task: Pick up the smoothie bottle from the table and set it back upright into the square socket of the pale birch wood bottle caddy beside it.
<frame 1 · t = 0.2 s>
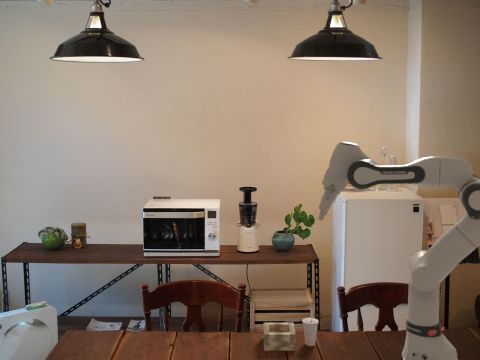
hand: (322, 217, 236), 51 cm above the table, tool tilted 20°, fingers open, 8 cm apart
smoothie: (310, 344, 246), on the table
caddy: (279, 344, 246), on the table
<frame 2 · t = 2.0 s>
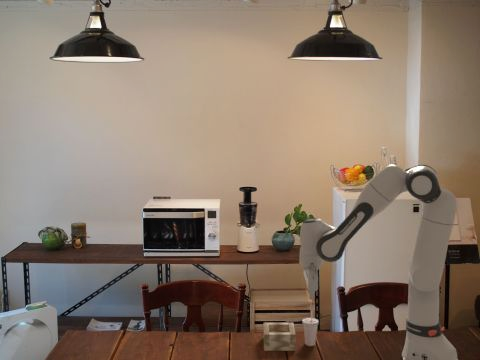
hand: (310, 294, 243), 20 cm above the table, tool pointing down, fingers open, 8 cm apart
nothing on the table moved.
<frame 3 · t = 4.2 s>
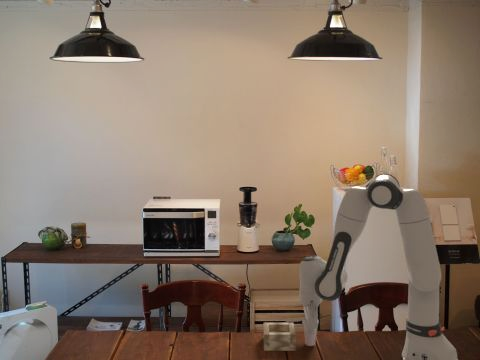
hand: (310, 330, 245), 5 cm above the table, tool pointing down, fingers closed on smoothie, 5 cm apart
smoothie: (310, 344, 246), on the table, touching gripper
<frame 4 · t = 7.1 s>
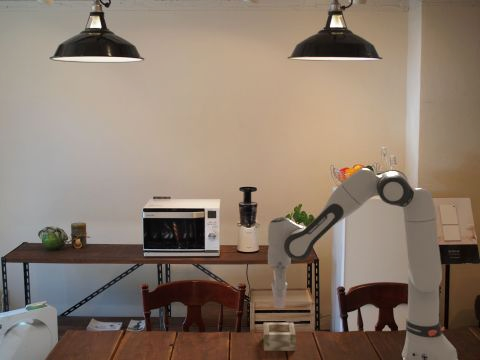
hand: (279, 293, 243), 21 cm above the table, tool pointing down, fingers closed on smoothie, 5 cm apart
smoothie: (279, 307, 244), point 15 cm above the table, touching gripper
when the fingers open (8 cm above the table, at t = 10.1 s): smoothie moves 2 cm, resting on caddy.
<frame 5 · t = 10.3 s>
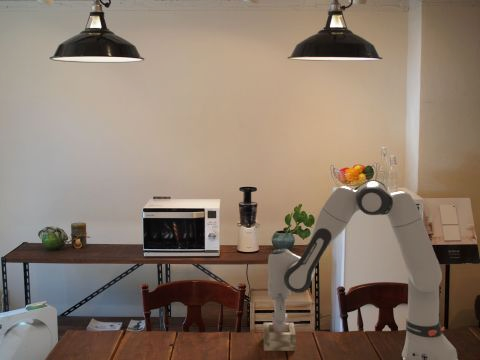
hand: (279, 324, 245), 8 cm above the table, tool pointing down, fingers open, 7 cm apart
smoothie: (279, 337, 247), point 2 cm above the table, touching caddy, gripper
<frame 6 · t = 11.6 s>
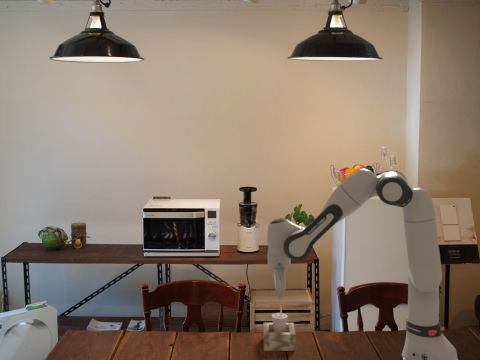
hand: (279, 294, 243), 20 cm above the table, tool pointing down, fingers open, 8 cm apart
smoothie: (279, 339, 247), point 1 cm above the table, touching caddy
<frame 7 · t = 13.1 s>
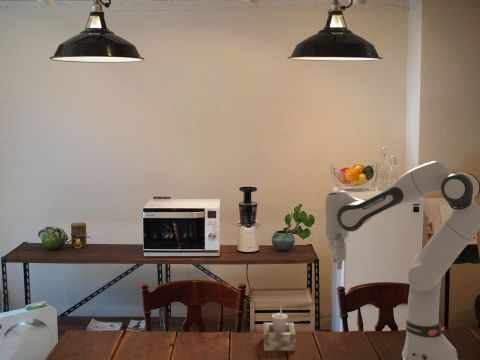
hand: (337, 265, 249), 30 cm above the table, tool pointing down, fingers open, 8 cm apart
nothing on the table moved.
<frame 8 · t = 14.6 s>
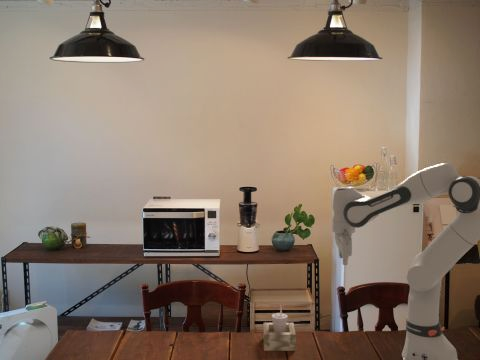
hand: (343, 261, 249), 31 cm above the table, tool pointing down, fingers open, 8 cm apart
nothing on the table moved.
at the end: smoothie 1.3 cm off-centre on the caddy, point 1.3 cm above the caddy's base; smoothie tilted 0°; the gripper is holding nothing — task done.
